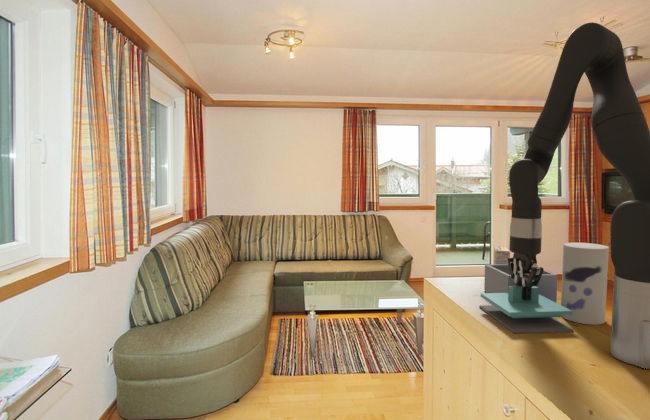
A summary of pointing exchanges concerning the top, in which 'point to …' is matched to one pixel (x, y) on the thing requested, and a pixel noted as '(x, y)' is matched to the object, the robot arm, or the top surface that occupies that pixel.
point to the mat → (526, 322)
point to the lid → (525, 304)
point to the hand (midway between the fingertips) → (523, 298)
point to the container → (585, 282)
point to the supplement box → (501, 255)
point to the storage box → (501, 280)
